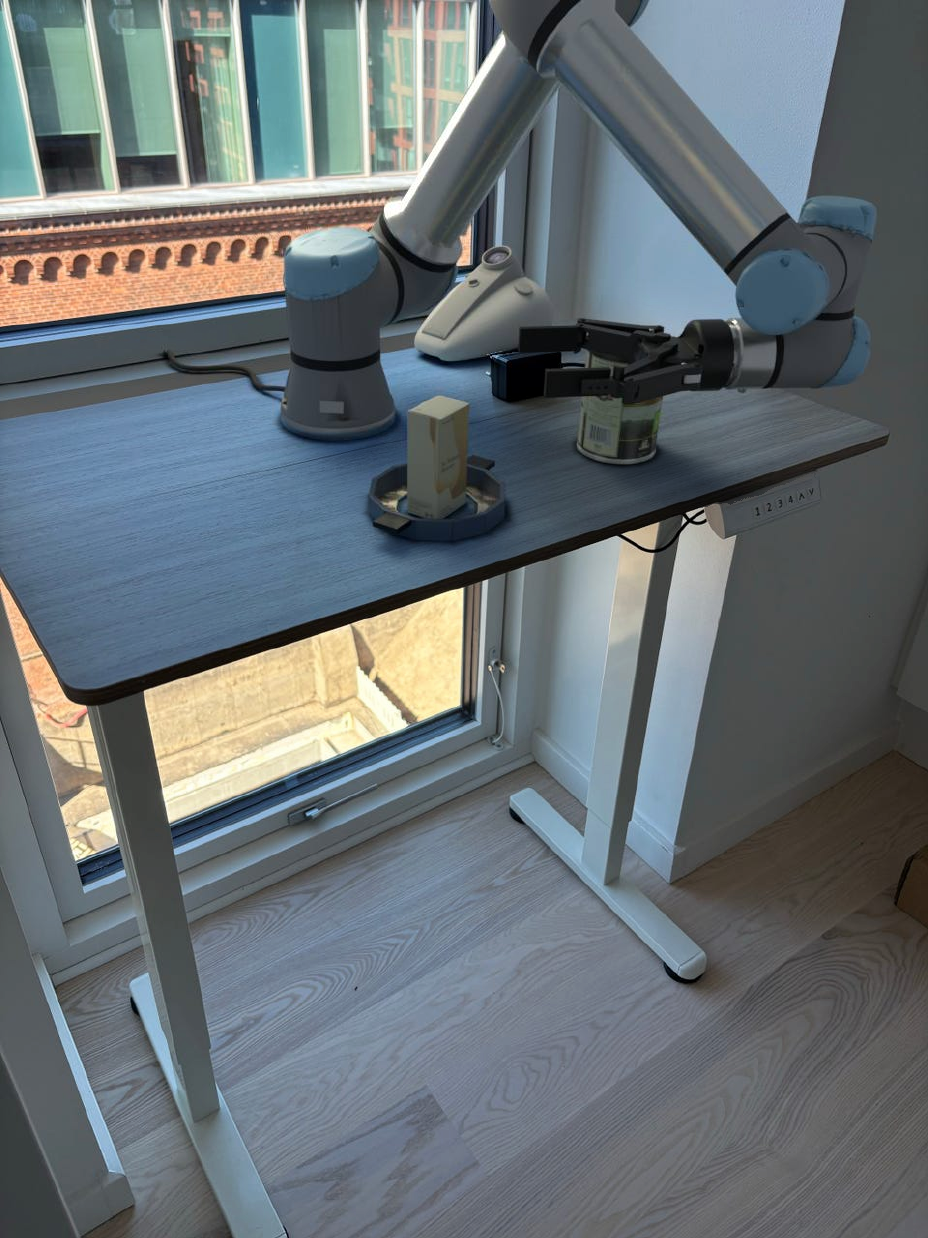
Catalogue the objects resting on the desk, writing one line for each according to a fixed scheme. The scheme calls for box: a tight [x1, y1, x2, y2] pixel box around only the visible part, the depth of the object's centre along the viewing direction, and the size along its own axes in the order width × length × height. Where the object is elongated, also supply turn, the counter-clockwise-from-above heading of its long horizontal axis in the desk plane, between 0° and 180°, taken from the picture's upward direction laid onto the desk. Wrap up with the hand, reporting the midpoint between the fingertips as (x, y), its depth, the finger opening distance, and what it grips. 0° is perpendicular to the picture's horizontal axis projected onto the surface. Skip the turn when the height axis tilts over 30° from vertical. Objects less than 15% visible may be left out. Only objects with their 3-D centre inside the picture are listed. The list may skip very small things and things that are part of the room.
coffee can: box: [576, 350, 664, 465], centre depth 121 cm, size 10×10×14 cm
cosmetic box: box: [406, 394, 470, 519], centre depth 107 cm, size 6×4×12 cm
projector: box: [414, 245, 555, 362], centre depth 154 cm, size 22×23×15 cm
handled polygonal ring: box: [368, 454, 506, 542], centre depth 110 cm, size 15×20×2 cm
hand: (531, 360), depth 102 cm, fingers open, 13 cm apart
